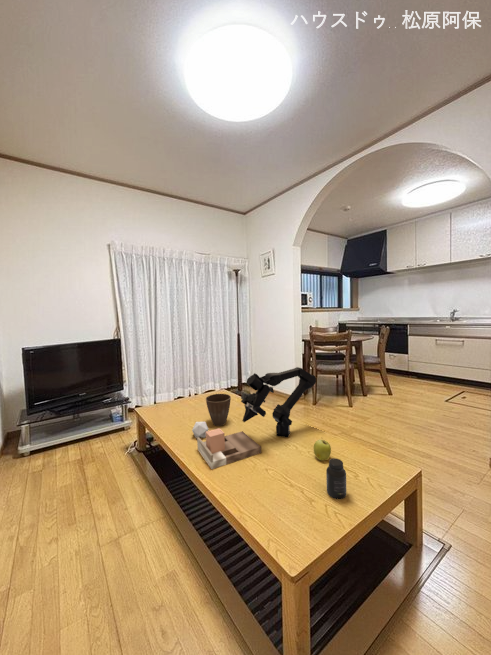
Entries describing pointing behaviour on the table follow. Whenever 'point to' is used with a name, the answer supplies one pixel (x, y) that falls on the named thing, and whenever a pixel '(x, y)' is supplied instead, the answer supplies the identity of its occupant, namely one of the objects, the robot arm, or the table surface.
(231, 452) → the brown piece
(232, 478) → the table surface
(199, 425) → the die
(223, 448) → the block
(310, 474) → the table surface
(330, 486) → the supplement bottle
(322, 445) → the apple
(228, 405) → the plant pot
